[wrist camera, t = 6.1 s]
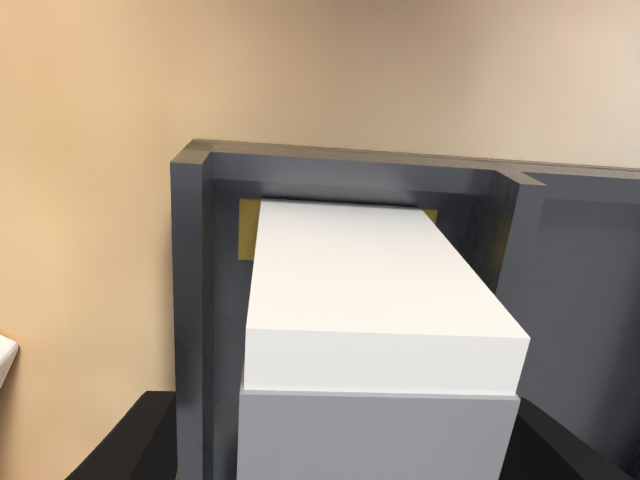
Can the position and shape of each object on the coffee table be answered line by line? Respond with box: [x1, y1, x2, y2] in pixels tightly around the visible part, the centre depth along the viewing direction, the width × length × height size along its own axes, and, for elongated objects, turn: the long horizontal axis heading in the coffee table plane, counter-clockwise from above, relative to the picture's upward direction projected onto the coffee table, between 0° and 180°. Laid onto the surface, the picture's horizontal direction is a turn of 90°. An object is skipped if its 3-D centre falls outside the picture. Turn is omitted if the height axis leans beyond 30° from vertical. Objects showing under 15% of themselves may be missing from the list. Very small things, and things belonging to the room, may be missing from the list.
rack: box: [170, 139, 640, 480], centre depth 14 cm, size 15×11×3 cm
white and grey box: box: [237, 198, 531, 480], centre depth 11 cm, size 4×8×6 cm, turn 175°
